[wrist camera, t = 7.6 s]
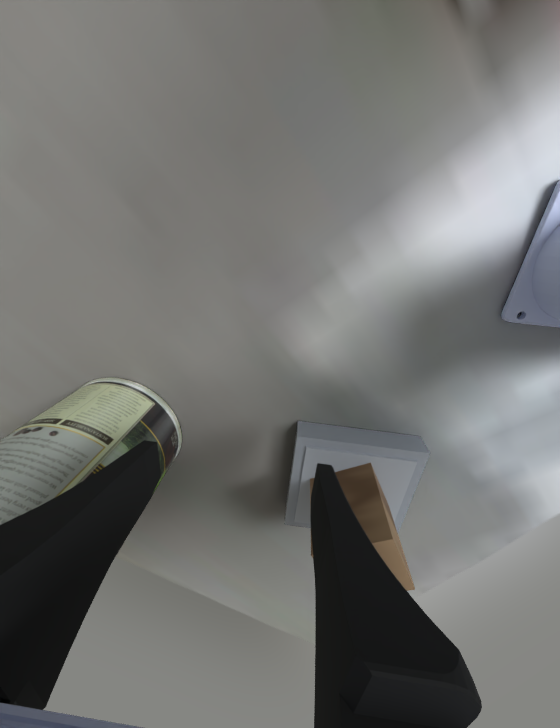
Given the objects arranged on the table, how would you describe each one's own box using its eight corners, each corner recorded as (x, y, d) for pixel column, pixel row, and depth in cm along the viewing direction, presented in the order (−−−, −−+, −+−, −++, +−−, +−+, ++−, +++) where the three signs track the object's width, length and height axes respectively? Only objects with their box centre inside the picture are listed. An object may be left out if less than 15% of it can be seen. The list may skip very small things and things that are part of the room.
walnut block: (370, 462, 21) (393, 539, 16) (389, 506, 23) (414, 589, 18) (309, 478, 22) (311, 555, 17) (331, 519, 24) (339, 600, 19)
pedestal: (420, 436, 23) (431, 455, 21) (389, 519, 27) (396, 542, 25) (297, 420, 23) (297, 438, 21) (285, 505, 27) (284, 526, 25)
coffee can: (206, 435, 24) (97, 651, 12) (138, 486, 28) (-5, 697, 15) (111, 351, 22) (-166, 509, 9) (49, 418, 25) (-218, 604, 12)
